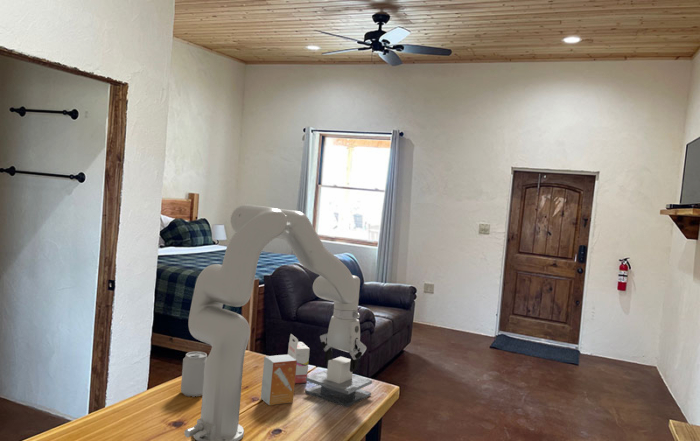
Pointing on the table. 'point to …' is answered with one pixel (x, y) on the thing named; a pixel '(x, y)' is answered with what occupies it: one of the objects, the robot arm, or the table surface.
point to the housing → (339, 370)
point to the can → (193, 373)
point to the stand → (338, 389)
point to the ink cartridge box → (299, 358)
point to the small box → (278, 379)
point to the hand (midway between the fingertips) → (340, 367)
